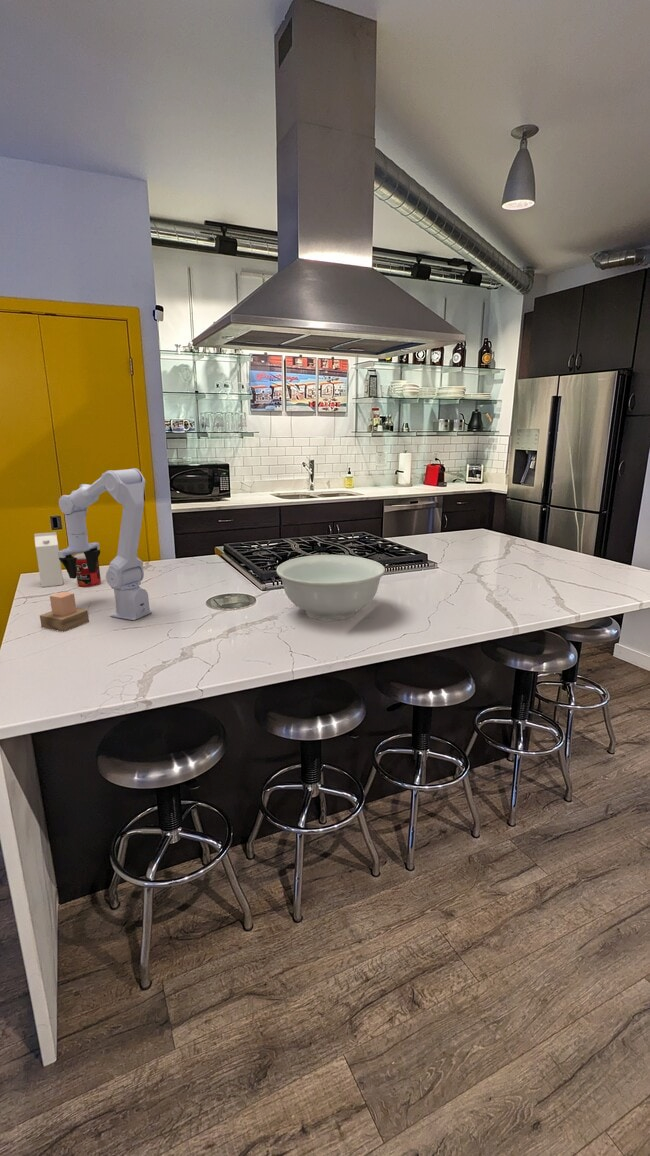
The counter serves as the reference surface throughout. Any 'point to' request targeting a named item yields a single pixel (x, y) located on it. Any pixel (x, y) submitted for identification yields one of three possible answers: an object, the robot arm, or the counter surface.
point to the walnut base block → (64, 620)
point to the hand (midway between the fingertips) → (82, 575)
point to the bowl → (330, 584)
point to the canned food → (86, 572)
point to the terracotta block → (63, 603)
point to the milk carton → (48, 559)
